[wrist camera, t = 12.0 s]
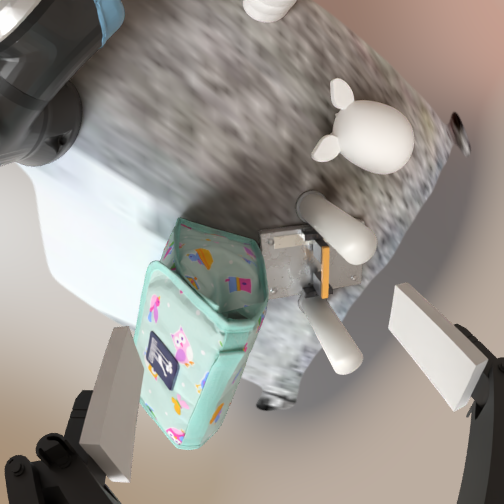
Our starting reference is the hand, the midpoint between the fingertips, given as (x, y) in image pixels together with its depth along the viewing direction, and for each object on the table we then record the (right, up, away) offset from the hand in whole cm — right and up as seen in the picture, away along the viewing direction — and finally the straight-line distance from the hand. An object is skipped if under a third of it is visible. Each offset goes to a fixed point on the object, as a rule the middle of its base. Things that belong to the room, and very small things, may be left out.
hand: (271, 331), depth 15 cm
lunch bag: (-10, -2, +39) cm, 41 cm away
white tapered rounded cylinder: (+10, -5, +44) cm, 46 cm away
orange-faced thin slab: (+10, +2, +39) cm, 40 cm away
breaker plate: (+10, +3, +40) cm, 42 cm away
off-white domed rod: (+9, +11, +37) cm, 40 cm away
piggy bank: (+15, +24, +33) cm, 43 cm away
